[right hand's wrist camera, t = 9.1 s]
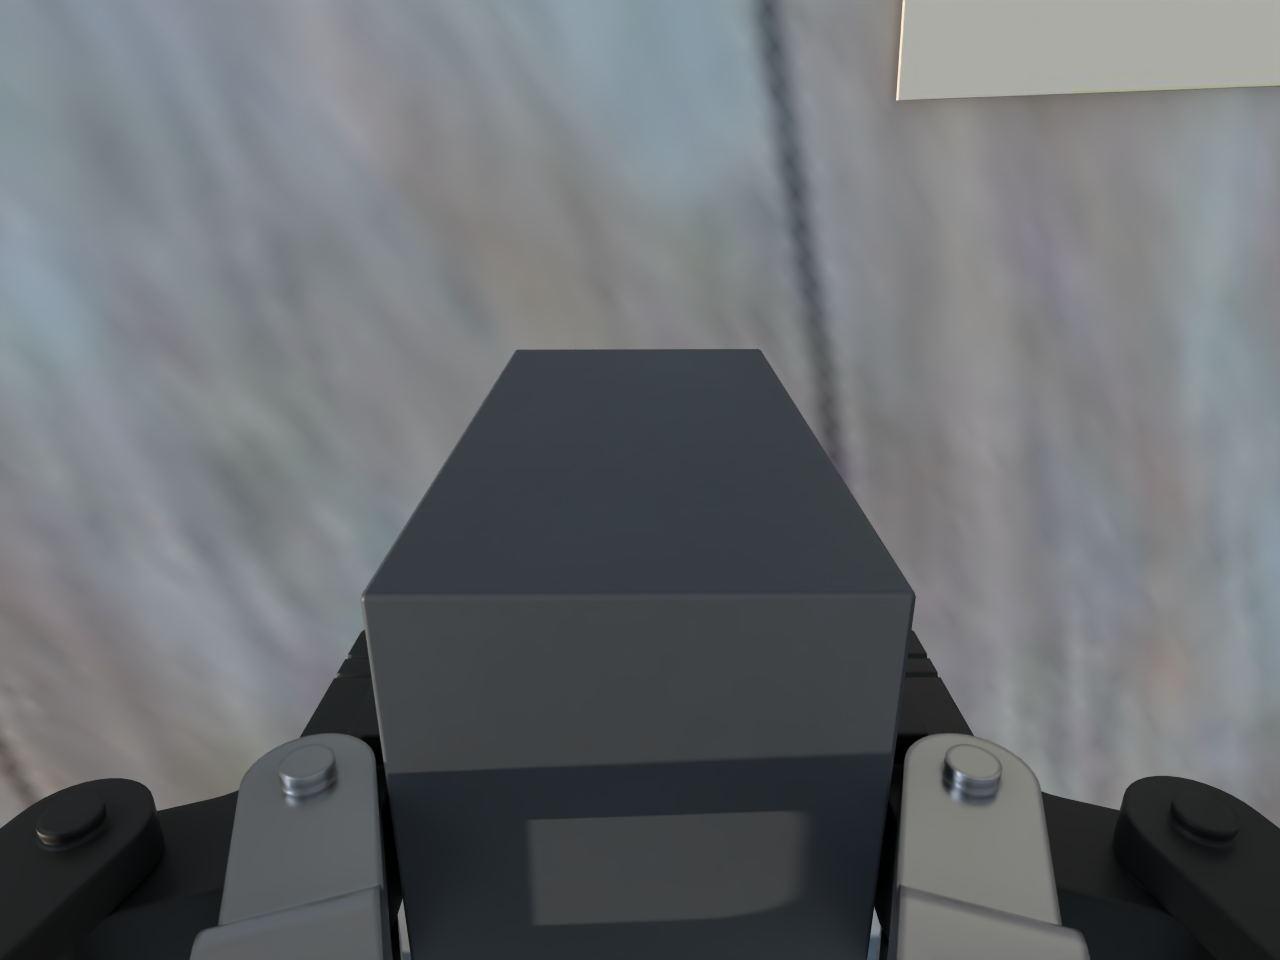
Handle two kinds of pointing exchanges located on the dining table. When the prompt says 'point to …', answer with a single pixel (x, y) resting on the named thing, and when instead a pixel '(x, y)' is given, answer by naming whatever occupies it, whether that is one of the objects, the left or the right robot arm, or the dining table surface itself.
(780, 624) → the bar
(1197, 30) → the invitation card
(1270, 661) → the dining table surface
